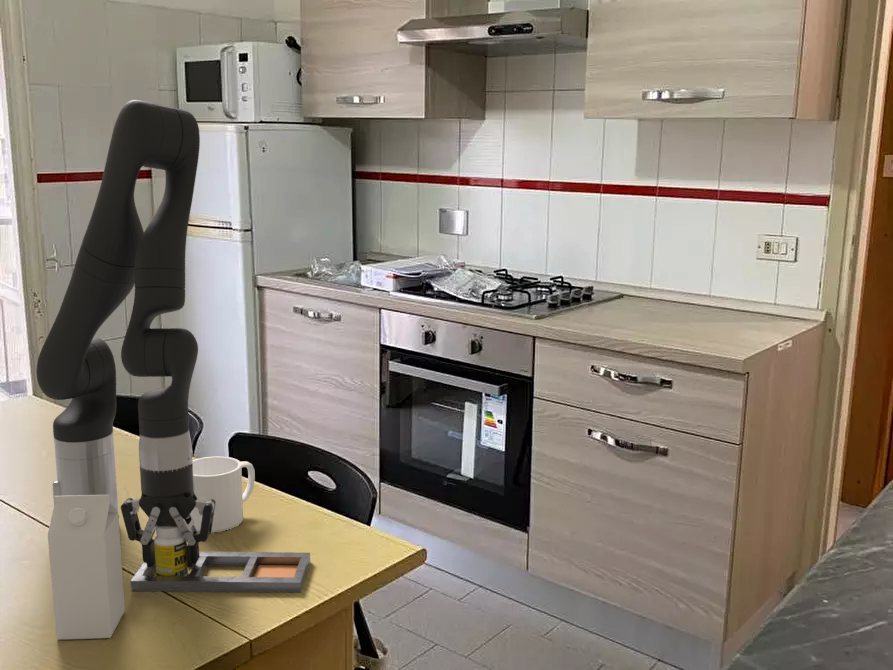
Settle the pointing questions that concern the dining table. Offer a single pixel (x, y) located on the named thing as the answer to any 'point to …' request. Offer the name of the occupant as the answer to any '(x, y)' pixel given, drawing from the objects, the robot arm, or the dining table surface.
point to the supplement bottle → (170, 551)
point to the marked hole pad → (276, 571)
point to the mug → (221, 489)
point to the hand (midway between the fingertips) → (171, 564)
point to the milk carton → (85, 567)
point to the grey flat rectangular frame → (229, 584)
